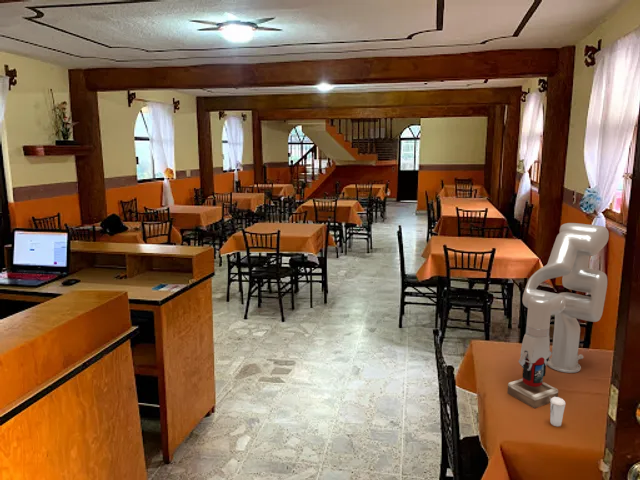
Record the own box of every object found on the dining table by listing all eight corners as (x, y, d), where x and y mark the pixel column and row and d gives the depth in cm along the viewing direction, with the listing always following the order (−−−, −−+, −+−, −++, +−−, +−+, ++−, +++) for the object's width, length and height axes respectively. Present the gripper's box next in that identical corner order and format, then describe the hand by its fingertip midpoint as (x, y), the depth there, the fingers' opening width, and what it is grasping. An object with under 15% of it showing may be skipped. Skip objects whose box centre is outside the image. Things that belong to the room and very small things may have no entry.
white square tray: (529, 385, 187) (530, 375, 186) (557, 400, 177) (558, 389, 176) (507, 393, 182) (508, 382, 181) (534, 408, 171) (535, 397, 171)
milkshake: (543, 420, 164) (545, 393, 162) (558, 419, 164) (560, 392, 162) (550, 428, 159) (553, 400, 158) (566, 427, 160) (568, 399, 158)
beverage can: (540, 390, 174) (543, 359, 172) (520, 385, 178) (523, 354, 175) (543, 382, 180) (546, 352, 178) (524, 377, 183) (526, 348, 181)
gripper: (545, 323, 181) (541, 367, 185) (511, 331, 174) (508, 377, 177) (563, 329, 175) (558, 375, 178) (529, 339, 167) (525, 386, 171)
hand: (533, 376), depth 178 cm, fingers closed on beverage can, 6 cm apart
